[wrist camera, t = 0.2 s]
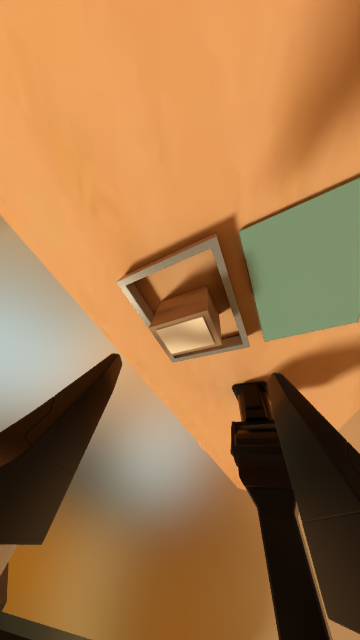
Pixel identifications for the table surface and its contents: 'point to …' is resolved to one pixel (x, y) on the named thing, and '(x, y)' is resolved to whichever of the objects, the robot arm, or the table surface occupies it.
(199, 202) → the table surface
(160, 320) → the walnut block
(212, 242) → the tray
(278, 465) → the robot arm
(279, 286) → the mat
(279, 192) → the table surface
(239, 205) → the table surface
